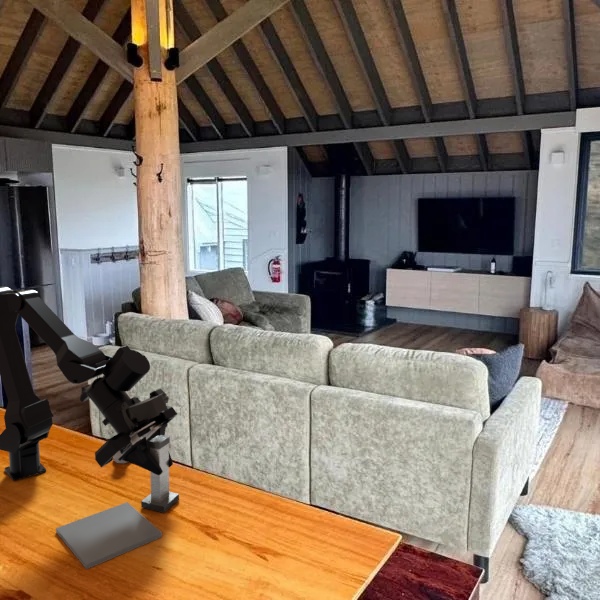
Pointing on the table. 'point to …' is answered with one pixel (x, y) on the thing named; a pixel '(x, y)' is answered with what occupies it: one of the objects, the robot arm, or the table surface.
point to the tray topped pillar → (160, 478)
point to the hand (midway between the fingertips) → (166, 469)
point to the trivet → (107, 534)
